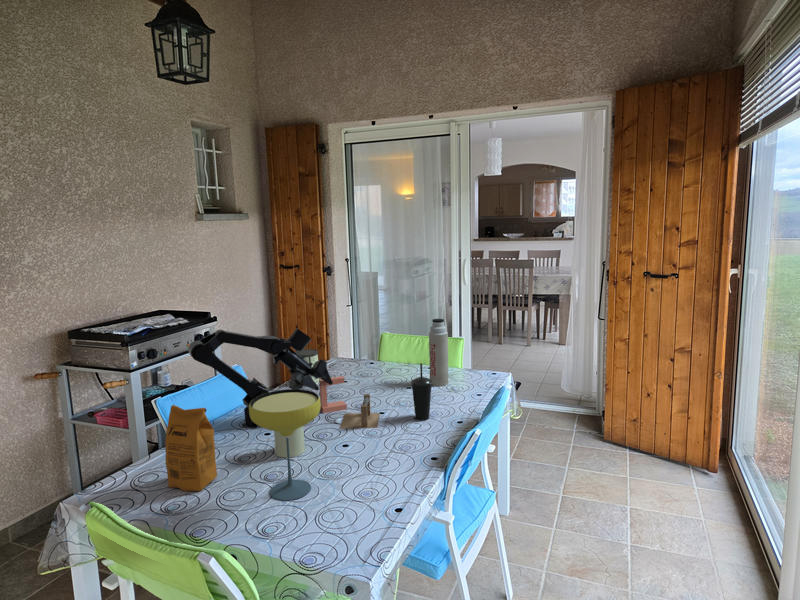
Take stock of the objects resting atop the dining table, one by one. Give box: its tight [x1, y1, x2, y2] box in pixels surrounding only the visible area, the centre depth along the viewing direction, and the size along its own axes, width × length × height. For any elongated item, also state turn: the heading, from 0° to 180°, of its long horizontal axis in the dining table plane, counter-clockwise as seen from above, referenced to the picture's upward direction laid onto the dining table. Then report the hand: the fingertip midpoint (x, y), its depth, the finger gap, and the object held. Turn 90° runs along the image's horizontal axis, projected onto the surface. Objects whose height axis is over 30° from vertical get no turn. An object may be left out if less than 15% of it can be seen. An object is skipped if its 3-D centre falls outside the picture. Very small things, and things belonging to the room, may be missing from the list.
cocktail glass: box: [249, 388, 321, 502], centre depth 139 cm, size 18×18×25 cm
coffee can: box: [294, 348, 320, 385], centre depth 233 cm, size 10×10×14 cm
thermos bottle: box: [428, 318, 449, 387], centre depth 226 cm, size 8×8×28 cm
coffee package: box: [165, 404, 218, 492], centre depth 145 cm, size 10×12×22 cm
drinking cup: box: [410, 363, 433, 421], centre depth 188 cm, size 8×8×20 cm
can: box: [273, 426, 306, 459], centre depth 164 cm, size 9×9×12 cm
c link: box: [318, 375, 348, 414], centre depth 198 cm, size 9×5×12 cm, turn 114°
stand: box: [338, 393, 381, 430], centre depth 186 cm, size 13×14×8 cm
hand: (325, 386), depth 197 cm, fingers open, 9 cm apart
